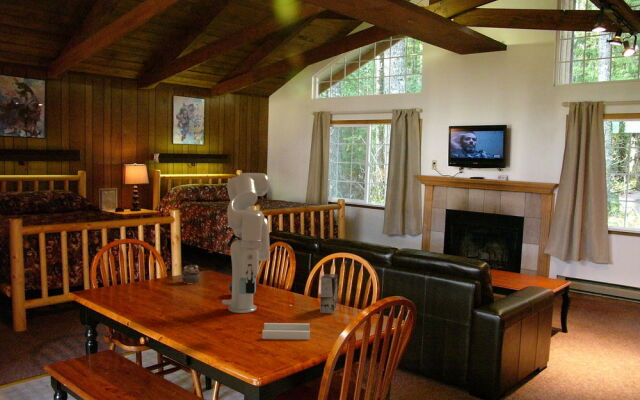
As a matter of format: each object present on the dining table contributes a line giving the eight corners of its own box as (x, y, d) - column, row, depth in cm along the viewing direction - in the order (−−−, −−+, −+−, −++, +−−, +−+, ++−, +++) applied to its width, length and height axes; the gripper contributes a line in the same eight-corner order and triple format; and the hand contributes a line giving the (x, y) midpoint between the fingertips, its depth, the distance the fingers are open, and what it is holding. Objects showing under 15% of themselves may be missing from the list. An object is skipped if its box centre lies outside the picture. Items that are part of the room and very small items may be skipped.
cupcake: (202, 281, 299) (202, 263, 298) (194, 285, 290) (194, 266, 289) (186, 280, 301) (186, 262, 301) (178, 284, 292) (178, 265, 291)
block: (238, 294, 206) (239, 281, 205) (240, 290, 212) (240, 277, 211) (254, 294, 206) (254, 281, 206) (255, 290, 212) (256, 277, 212)
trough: (262, 338, 205) (262, 331, 205) (264, 330, 215) (264, 323, 215) (309, 339, 206) (310, 331, 205) (309, 330, 216) (309, 323, 216)
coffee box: (333, 314, 241) (334, 278, 240) (319, 312, 242) (320, 277, 241) (337, 308, 250) (338, 274, 249) (323, 307, 251) (324, 273, 250)
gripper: (259, 248, 199) (258, 296, 200) (263, 241, 216) (262, 285, 218) (239, 248, 199) (238, 296, 200) (244, 241, 216) (243, 285, 217)
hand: (250, 290), depth 209 cm, fingers closed on block, 6 cm apart
